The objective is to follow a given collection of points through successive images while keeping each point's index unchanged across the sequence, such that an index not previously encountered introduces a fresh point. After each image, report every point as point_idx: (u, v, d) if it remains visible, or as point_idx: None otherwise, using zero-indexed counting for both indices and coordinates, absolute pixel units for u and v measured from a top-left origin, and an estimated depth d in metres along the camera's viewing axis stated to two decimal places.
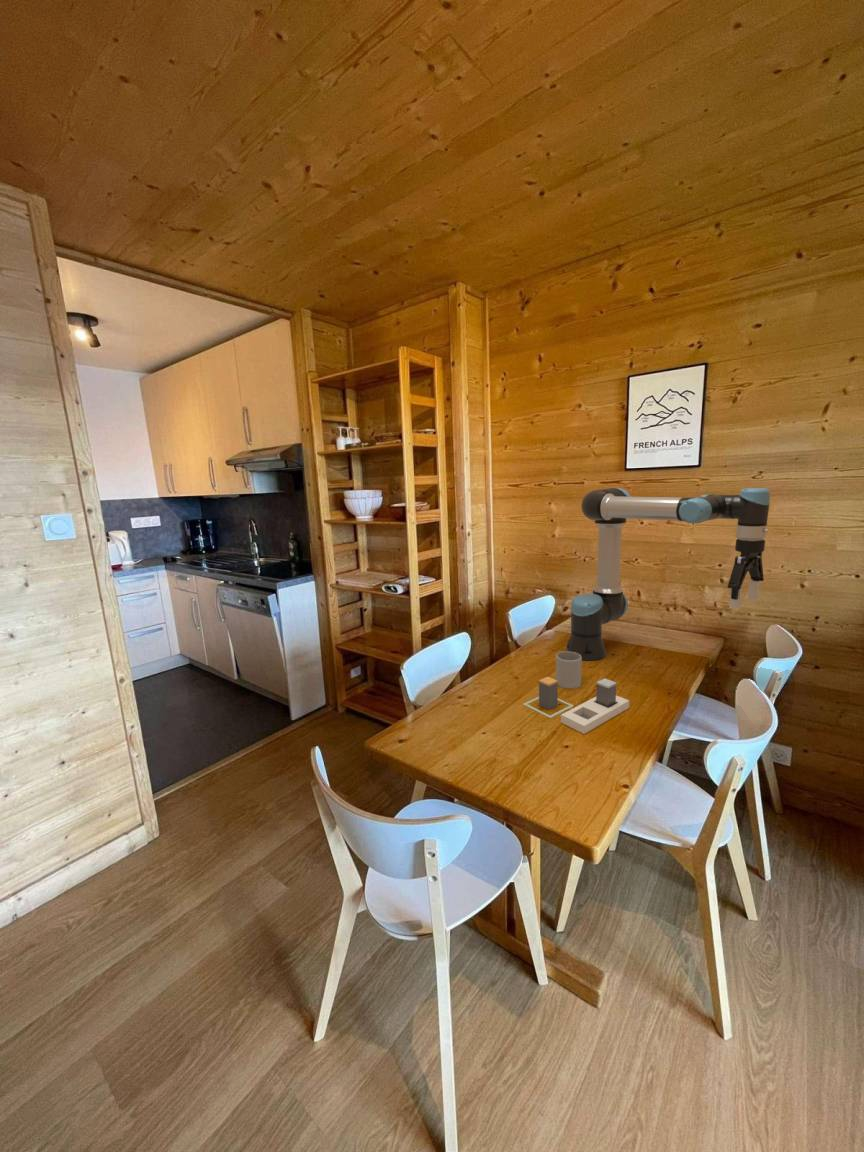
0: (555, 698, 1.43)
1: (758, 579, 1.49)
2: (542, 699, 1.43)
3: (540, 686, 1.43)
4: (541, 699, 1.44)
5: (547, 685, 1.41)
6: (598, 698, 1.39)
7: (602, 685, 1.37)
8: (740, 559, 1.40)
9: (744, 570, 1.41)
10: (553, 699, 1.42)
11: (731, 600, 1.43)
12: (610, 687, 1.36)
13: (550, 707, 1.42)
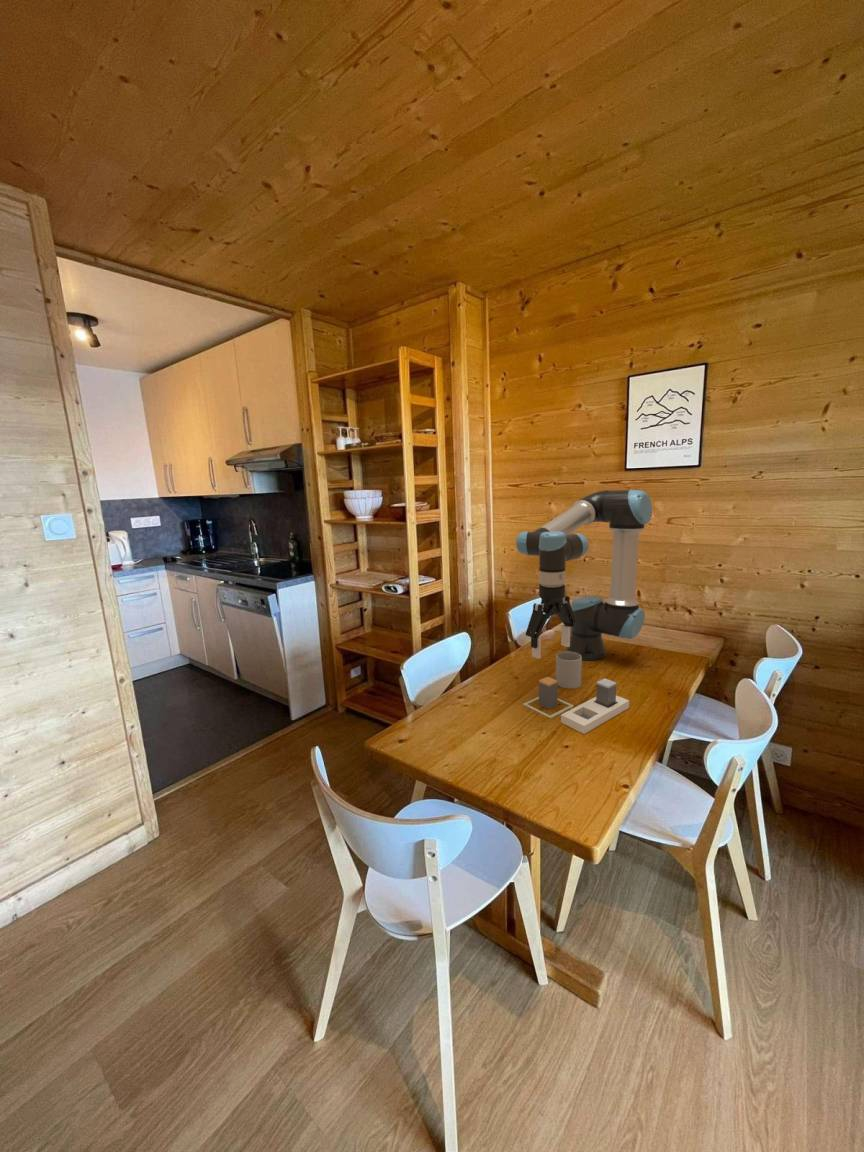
0: (555, 698, 1.43)
1: (568, 624, 1.42)
2: (542, 699, 1.43)
3: (540, 686, 1.43)
4: (541, 699, 1.44)
5: (547, 685, 1.41)
6: (598, 698, 1.39)
7: (602, 685, 1.37)
8: (537, 606, 1.33)
9: (543, 617, 1.35)
10: (553, 699, 1.42)
11: (533, 648, 1.37)
12: (610, 687, 1.36)
13: (550, 707, 1.42)
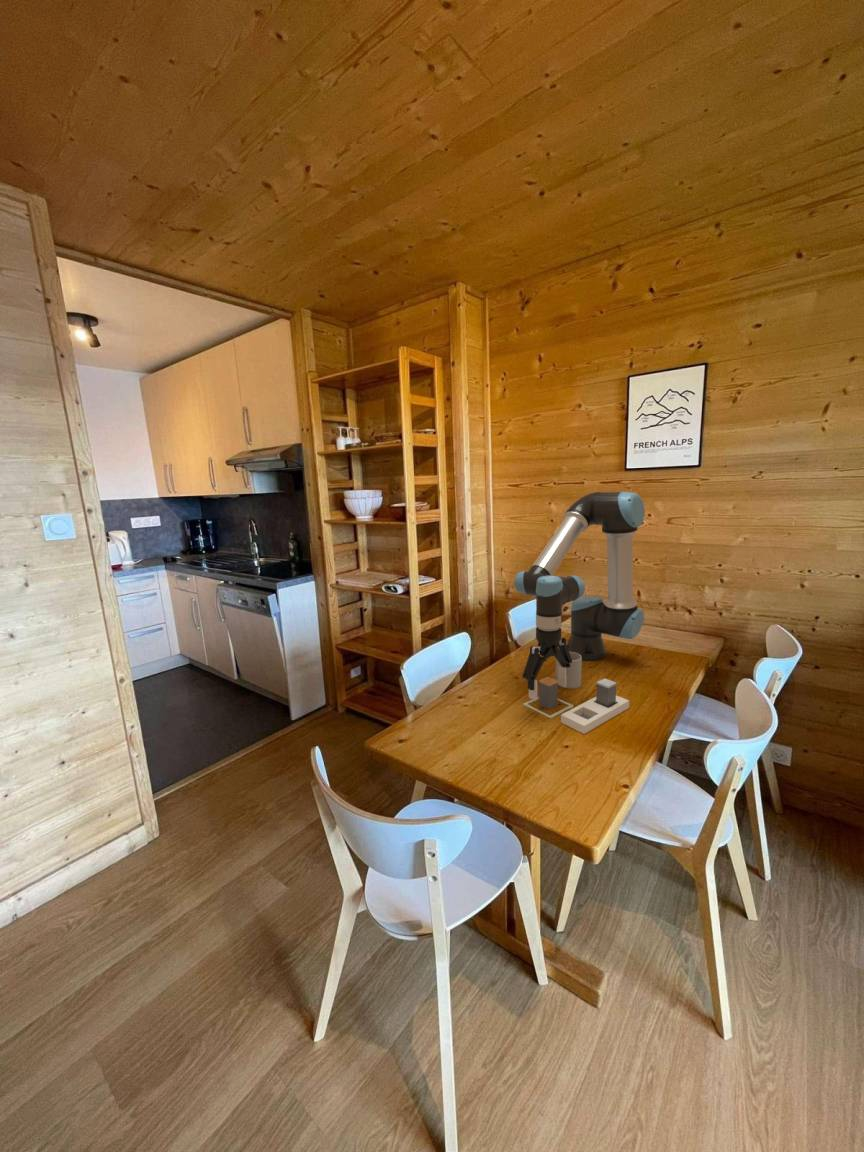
0: (555, 698, 1.43)
1: (565, 665, 1.45)
2: (542, 699, 1.43)
3: (540, 686, 1.43)
4: (541, 699, 1.44)
5: (547, 685, 1.41)
6: (598, 698, 1.39)
7: (602, 685, 1.37)
8: (533, 650, 1.36)
9: (540, 660, 1.38)
10: (553, 699, 1.42)
11: (529, 690, 1.39)
12: (610, 687, 1.36)
13: (550, 707, 1.42)
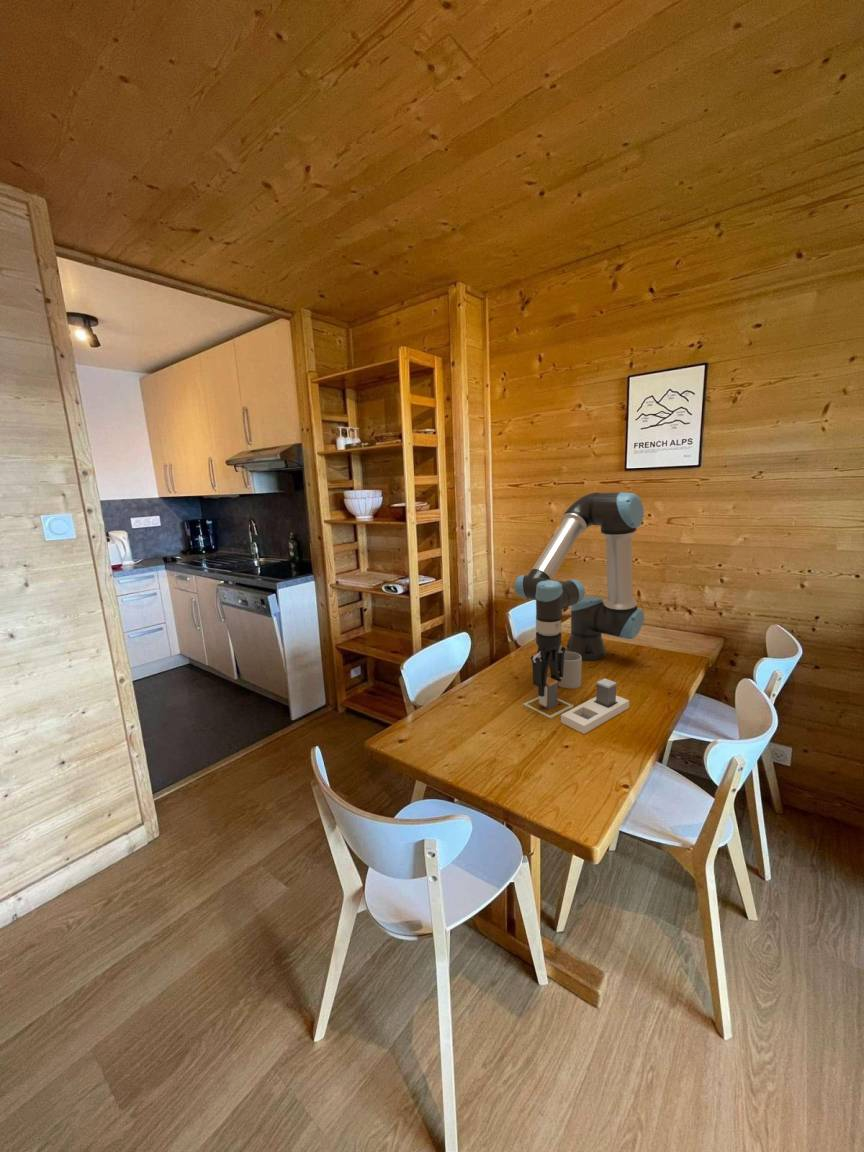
0: (555, 698, 1.43)
1: (556, 678, 1.43)
2: None
3: None
4: None
5: (547, 685, 1.41)
6: (598, 698, 1.39)
7: (602, 685, 1.37)
8: (534, 660, 1.37)
9: (544, 667, 1.39)
10: (553, 699, 1.42)
11: (540, 696, 1.43)
12: (610, 687, 1.36)
13: (550, 707, 1.42)
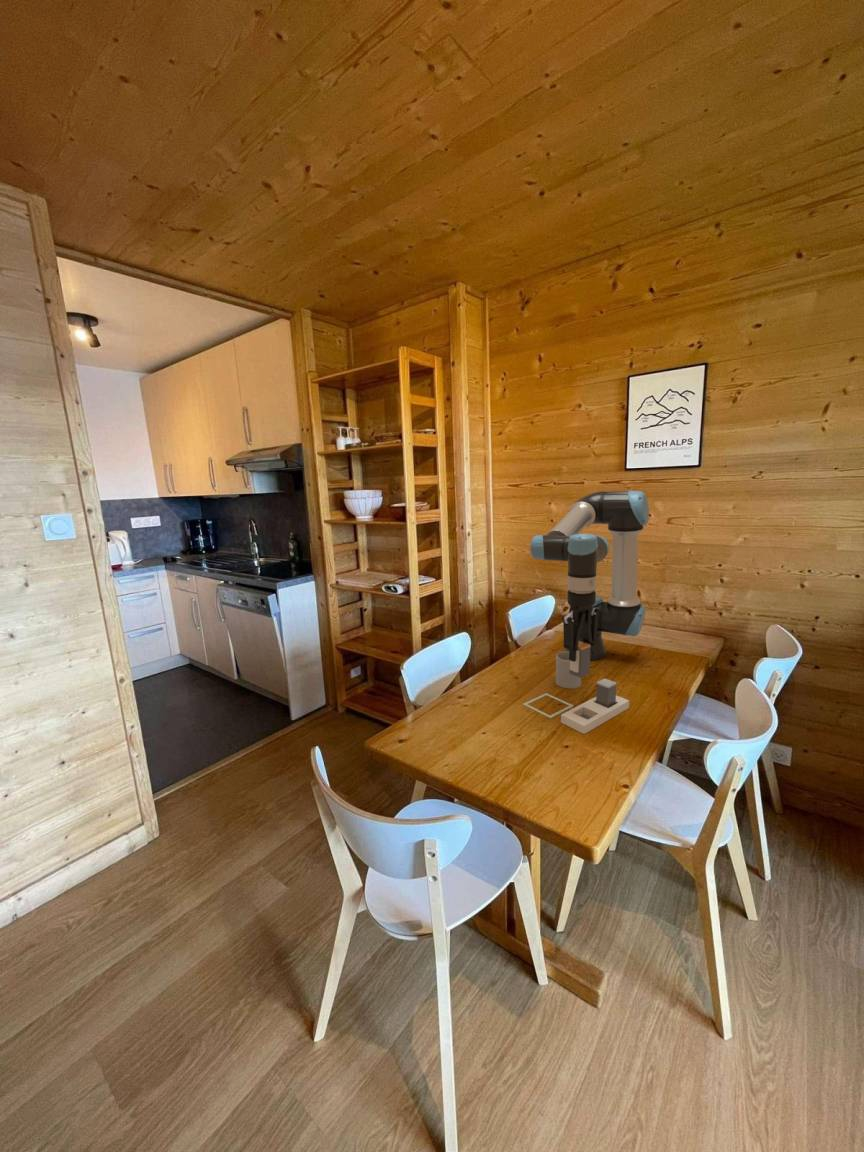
0: (587, 664, 1.31)
1: (588, 643, 1.31)
2: None
3: None
4: None
5: (579, 649, 1.29)
6: (598, 698, 1.39)
7: (602, 685, 1.37)
8: (566, 620, 1.25)
9: (576, 628, 1.27)
10: (585, 665, 1.30)
11: (571, 661, 1.31)
12: (610, 687, 1.36)
13: (582, 673, 1.30)
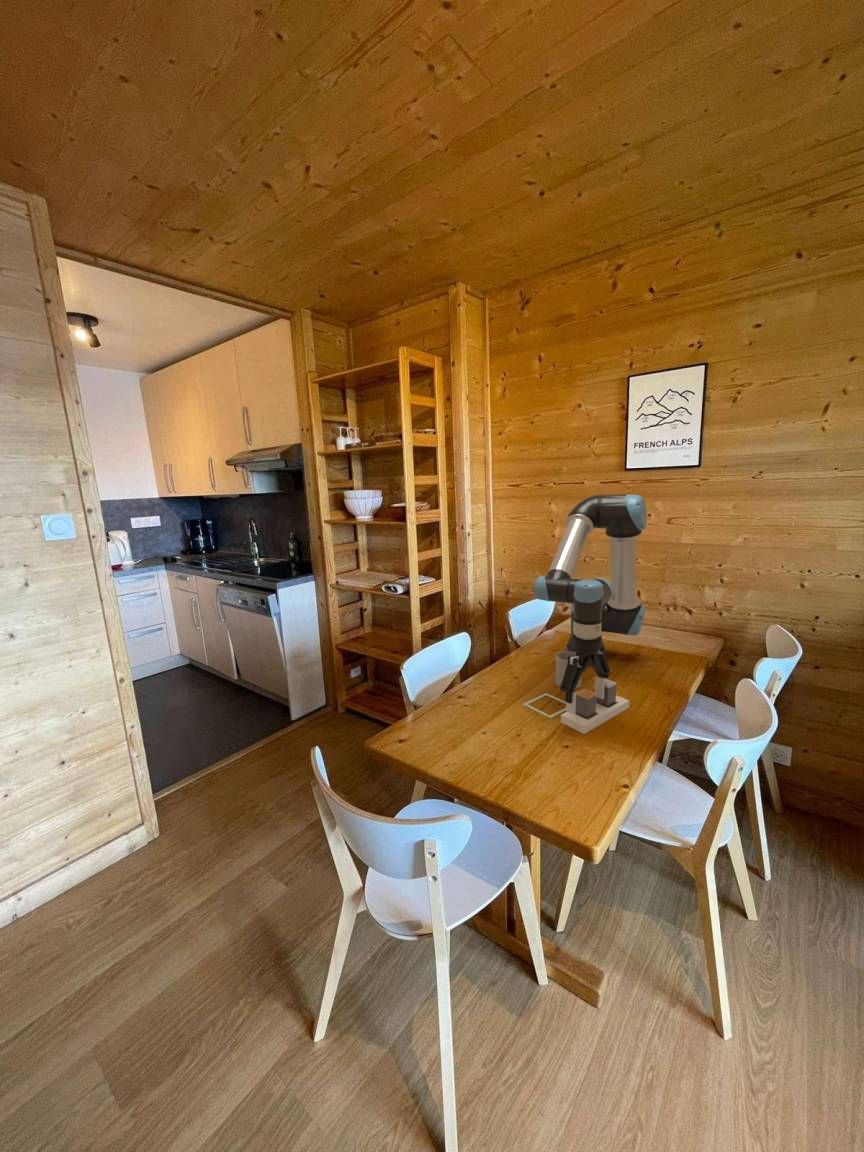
0: (593, 712, 1.33)
1: (603, 676, 1.35)
2: (579, 713, 1.33)
3: (577, 698, 1.33)
4: (578, 713, 1.34)
5: (585, 698, 1.31)
6: (598, 698, 1.39)
7: None
8: (572, 660, 1.26)
9: (579, 671, 1.28)
10: (591, 713, 1.32)
11: (567, 703, 1.30)
12: (610, 687, 1.36)
13: None
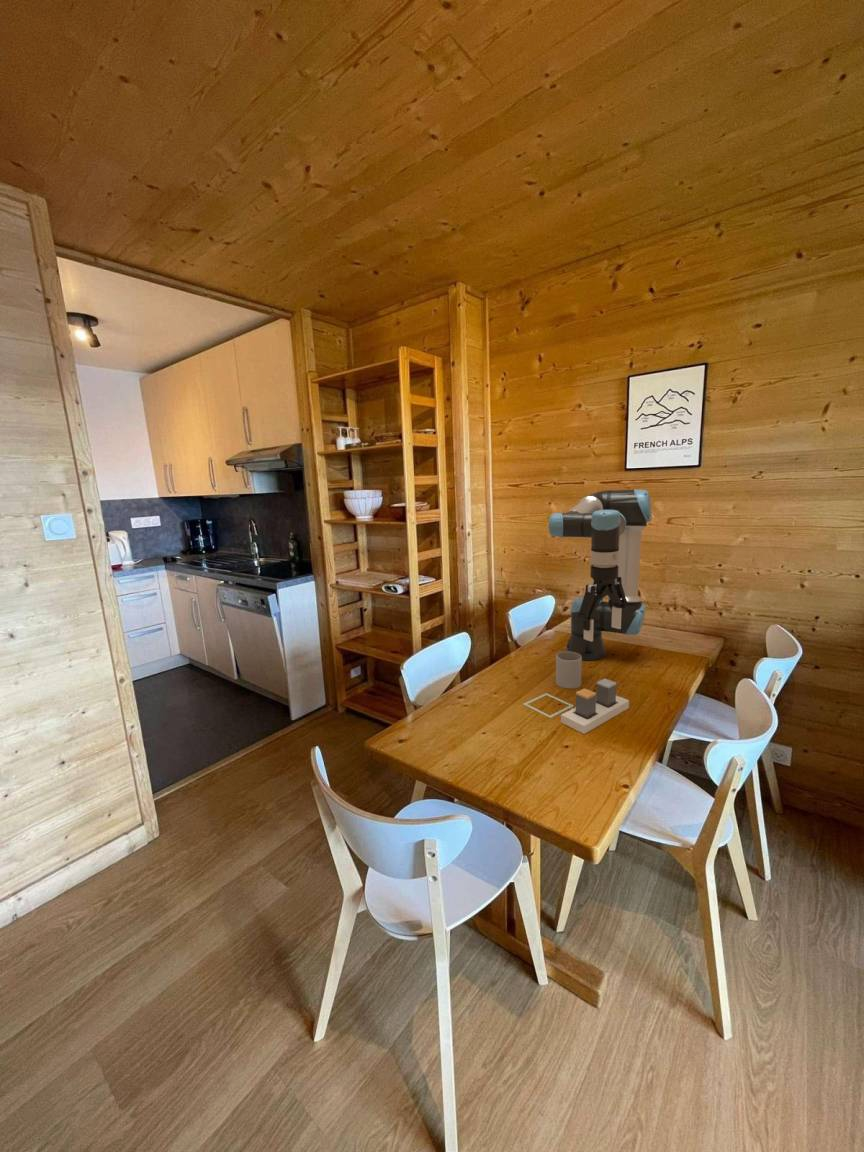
0: (593, 712, 1.33)
1: (620, 606, 1.38)
2: (579, 713, 1.33)
3: (577, 698, 1.33)
4: (578, 713, 1.34)
5: (585, 698, 1.31)
6: (598, 698, 1.39)
7: (602, 685, 1.37)
8: (590, 588, 1.29)
9: (596, 599, 1.31)
10: (591, 713, 1.32)
11: (585, 631, 1.33)
12: (610, 687, 1.36)
13: None
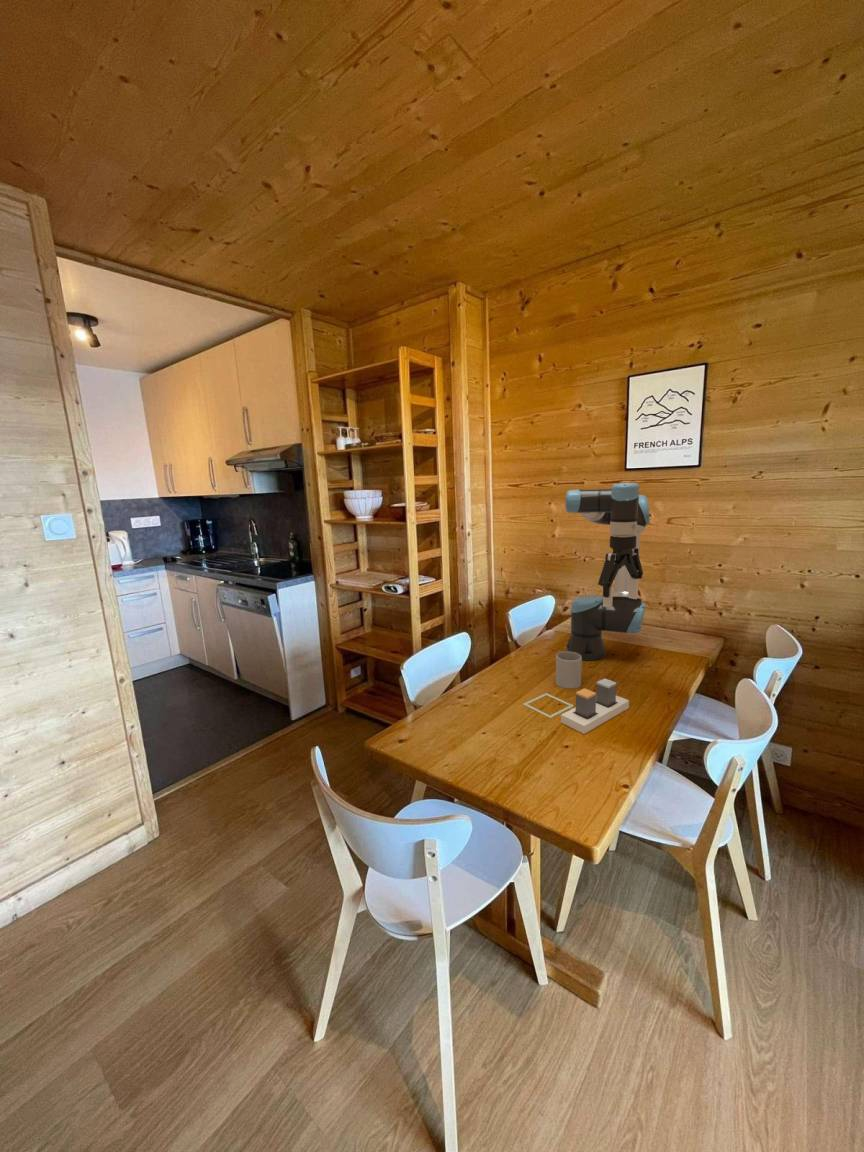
0: (593, 712, 1.33)
1: (636, 577, 1.45)
2: (579, 713, 1.33)
3: (577, 698, 1.33)
4: (578, 713, 1.34)
5: (585, 698, 1.31)
6: (598, 698, 1.39)
7: (602, 685, 1.37)
8: (610, 556, 1.36)
9: (615, 567, 1.38)
10: (591, 713, 1.32)
11: (604, 598, 1.40)
12: (610, 687, 1.36)
13: None
